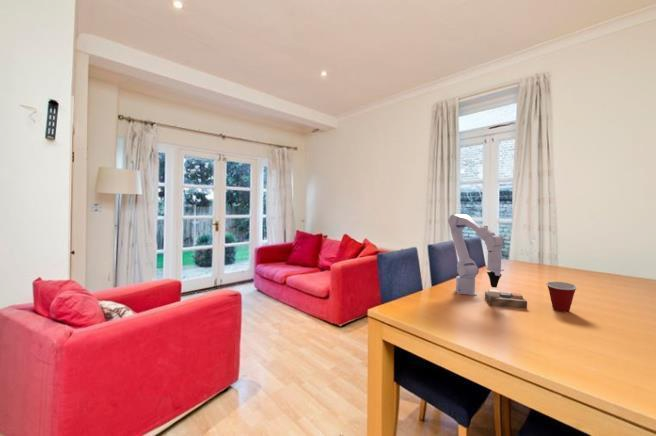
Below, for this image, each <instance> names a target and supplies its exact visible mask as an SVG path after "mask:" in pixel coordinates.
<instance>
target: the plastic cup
mask: <svg viewBox="0 0 656 436" xmlns="http://www.w3.org/2000/svg"><path fill="white" fill-rule="evenodd" d="M546 286H547V289H548V292H549V297H550V302H551V307H552V310H554V311H557V312H560V313H570V311H571V306H572V304H573V299H574V296H575V293H576V290H577V288H578V286H577V285H576V284H574V283H571V282H570V283H569V282H564V281H547V282H546Z"/></svg>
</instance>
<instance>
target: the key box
mask: <svg viewBox="0 0 656 436" xmlns="http://www.w3.org/2000/svg"><path fill="white" fill-rule="evenodd" d="M484 300H485V301H486V302H487V303H488V305H489V306H493V307H501V308H502V307H503V308H511V309H524V310H527V309H528V301H527V300H526V299H525V298H524V297H523V299H516V298H512V297H511V298H504V297H500V296H499V297H493V296H489V295H488V291H485V292H484Z"/></svg>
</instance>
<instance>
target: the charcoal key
mask: <svg viewBox="0 0 656 436" xmlns="http://www.w3.org/2000/svg"><path fill="white" fill-rule="evenodd" d="M499 292H500V297H504V298H511V295H510V293H509V292H501V291H499Z"/></svg>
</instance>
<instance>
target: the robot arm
mask: <svg viewBox="0 0 656 436" xmlns="http://www.w3.org/2000/svg"><path fill="white" fill-rule="evenodd" d="M447 221H448V224H449V227H450V233H451V237H452V240H453V243H454V246H455V247H454V248H455V250H456V253H457V256H458V260H459V261H458V262H457V263H456V267H457V268H456V272H457V274H458V275H456V277H455V291H456V293H457V294H458V295H459V294H461V295H468V296H469V295H471V296H477V293H476V277H477V275H479V266H477V264H476V262H475V261H474V260H473V259H472V258H470V255H469V251H468V248H467V244H466V242H465V241H466V240H465V238H464V234H463V230H465V228H466V227H468V228H469V229H471V230H472V231H474V232H475V235H476V236H477V237H478V238H480V239H481V240H482V241H483V242H484V244H485V246H486V250H487V268H486V270H487V271H486V273H487V276H488V279H489V283H490V287H491V288H498V284H499V281H500V279H501V277H502V274H501V273H502V272H504V271H505V269H504V268H502V247H503V246H504V245H505V239H504V237H503V236H502V235H500V234H496V233H495V232H492V231H491V230H490V229H489V228H488V226H480V225H479V224H478V223H477V222H476V221H474V220H473V219H472V217H471V216H470V215H469V214H465V213H464V214H454V213H453V214H450V216H449V218H448V220H447Z"/></svg>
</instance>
